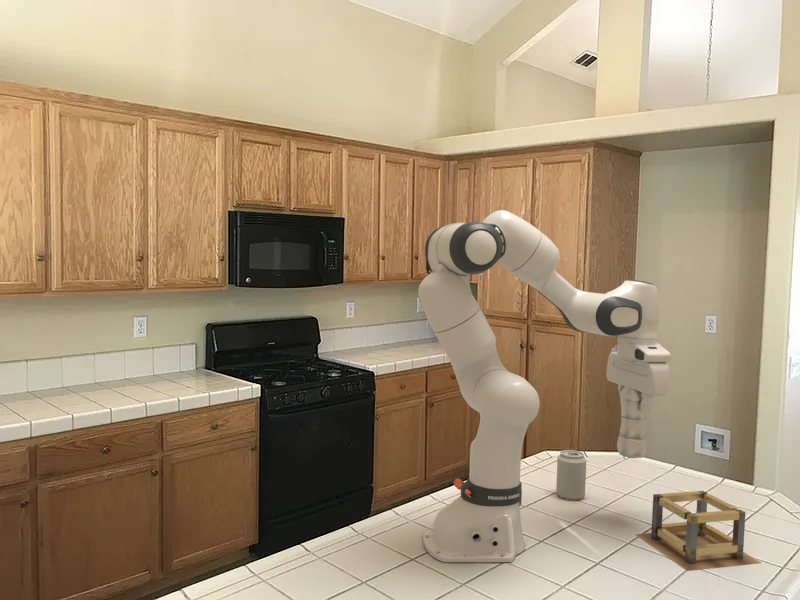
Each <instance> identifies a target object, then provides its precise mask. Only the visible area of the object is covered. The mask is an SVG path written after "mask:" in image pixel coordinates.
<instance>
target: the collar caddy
mask: <svg viewBox="0 0 800 600" xmlns="http://www.w3.org/2000/svg"><path fill="white" fill-rule="evenodd" d="M652 497H653V498H652V515H651V532H650V533H651V538H652V539H653V540H655V541H658V540H661V538H662V539H664V540H665V541H667V542H668V543H670V544H671V545H673V546H674V547H676V548H677V549H679V550H680V551H682V552H685V561H686V562H687V563H689V564H695V563H696V556H704V555H714V554H724V553H732V557H734V558H736V559H743V552H744V544H745V542H744V541H745V529H746V528H745V527H746V511H744V510H743V509H738V507H736V506H734V505H733V504H730V503H728V502H726V501H725V500H722V499H720V498H718V497H716V496H714V495H712V494H711V493H708V492H706V491H704V490H695V491H694V490H693V491H684V492H681V491H680V492H668V493H655V494H653V495H652ZM692 501H696V512H694V513H693V512H692V511H691V510H688V509H687V508H686V507H683V506H681V505H679V504H678V503H681V502H692ZM708 505H710V506H712V507H714V508H716V509H718V511H707V510H708ZM663 508H664V509H666V510H667V511H669V512H671V513H672V514H675V516H678V517H679V518H681V519H683V520H686V521H683V522H681V521H680V522H673V523H671V522H670V523H663V513H664V512H663V510H664V509H663ZM719 510H720V511H719ZM727 521H728V522H729V521H733V525H732V526H733V527H732V536H729V535H728V534H726V533H724V532H722V531H720V530H718V529H717V528H715V527H714V526H712V525H710V524H707V523H716V522H718V523H719V522H727ZM675 532H686V542H684V541H683V540H681V539H680V538H678V537H677V536H675V535H673V534H672V533H675ZM705 534H707V535H709V536H711V537H712V538H714V539H716V540H717V541H719V542H721V543H720V544H709V545H699V546H697V535H698V536H699V537H702V536H705Z"/></svg>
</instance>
